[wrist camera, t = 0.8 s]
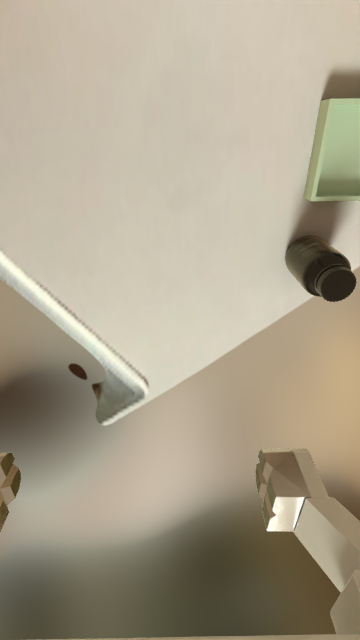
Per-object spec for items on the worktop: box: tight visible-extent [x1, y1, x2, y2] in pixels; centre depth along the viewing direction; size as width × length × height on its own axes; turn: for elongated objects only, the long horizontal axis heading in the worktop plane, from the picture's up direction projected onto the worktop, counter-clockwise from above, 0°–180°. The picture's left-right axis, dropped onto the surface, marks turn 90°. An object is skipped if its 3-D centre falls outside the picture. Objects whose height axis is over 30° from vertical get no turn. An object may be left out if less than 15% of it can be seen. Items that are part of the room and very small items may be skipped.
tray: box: [304, 98, 360, 201], centre depth 43 cm, size 12×10×3 cm
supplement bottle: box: [286, 236, 356, 302], centre depth 47 cm, size 7×7×12 cm
